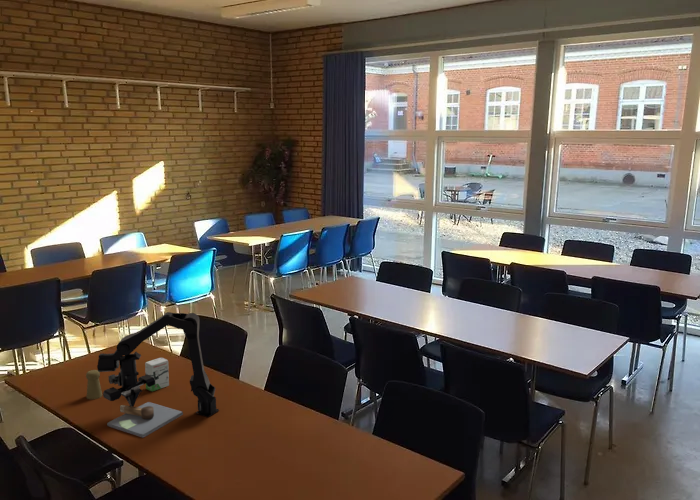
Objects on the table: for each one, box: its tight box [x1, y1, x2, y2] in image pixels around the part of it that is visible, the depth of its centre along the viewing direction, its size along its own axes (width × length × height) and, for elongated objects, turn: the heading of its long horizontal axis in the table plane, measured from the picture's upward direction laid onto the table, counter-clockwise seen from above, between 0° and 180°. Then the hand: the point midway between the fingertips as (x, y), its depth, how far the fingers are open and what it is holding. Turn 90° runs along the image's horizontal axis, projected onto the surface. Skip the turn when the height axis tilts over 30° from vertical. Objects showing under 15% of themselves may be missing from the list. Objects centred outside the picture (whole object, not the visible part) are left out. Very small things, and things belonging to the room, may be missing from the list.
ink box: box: [144, 357, 170, 392], centre depth 244 cm, size 9×5×12 cm, turn 143°
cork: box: [85, 369, 103, 400], centre depth 234 cm, size 6×6×11 cm
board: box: [107, 401, 184, 438], centre depth 216 cm, size 18×20×1 cm
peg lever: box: [119, 404, 154, 419], centre depth 216 cm, size 14×4×3 cm, turn 72°
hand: (131, 408), depth 219 cm, fingers closed
